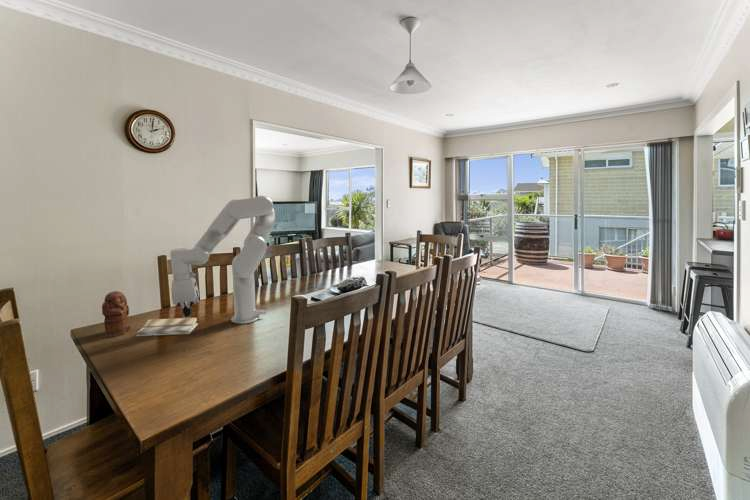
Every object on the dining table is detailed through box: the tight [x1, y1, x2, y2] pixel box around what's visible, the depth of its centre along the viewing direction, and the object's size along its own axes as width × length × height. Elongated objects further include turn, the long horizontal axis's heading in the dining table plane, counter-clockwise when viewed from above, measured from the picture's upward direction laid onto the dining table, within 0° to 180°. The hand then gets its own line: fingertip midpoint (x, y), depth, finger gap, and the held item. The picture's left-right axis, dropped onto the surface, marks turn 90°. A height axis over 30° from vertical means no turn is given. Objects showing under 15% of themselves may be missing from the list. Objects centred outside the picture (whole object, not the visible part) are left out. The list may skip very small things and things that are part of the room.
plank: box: [143, 317, 198, 327], centre depth 161 cm, size 20×6×1 cm, turn 99°
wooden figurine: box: [101, 290, 131, 338], centre depth 154 cm, size 12×6×18 cm, turn 11°
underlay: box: [135, 322, 199, 337], centre depth 158 cm, size 21×12×1 cm, turn 99°
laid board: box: [136, 325, 193, 336], centre depth 155 cm, size 20×6×1 cm, turn 99°
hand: (187, 316), depth 162 cm, fingers closed
